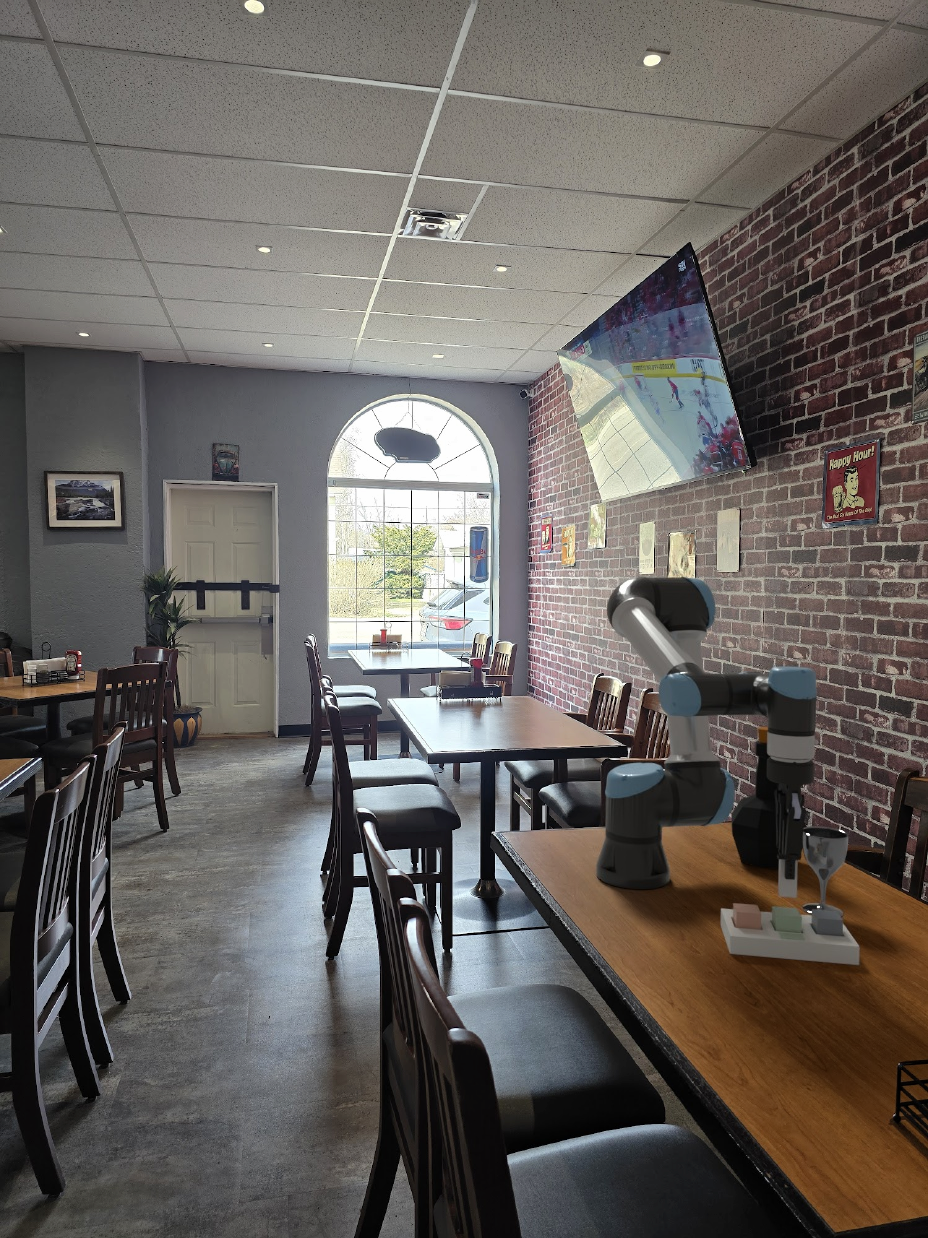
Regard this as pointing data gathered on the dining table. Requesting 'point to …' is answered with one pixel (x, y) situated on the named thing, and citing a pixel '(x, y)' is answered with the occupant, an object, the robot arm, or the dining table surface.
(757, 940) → the button board
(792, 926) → the sage button
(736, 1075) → the dining table surface
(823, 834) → the silver goblet
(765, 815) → the bottle
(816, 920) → the slate grey button
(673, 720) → the robot arm
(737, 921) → the salmon pink button
